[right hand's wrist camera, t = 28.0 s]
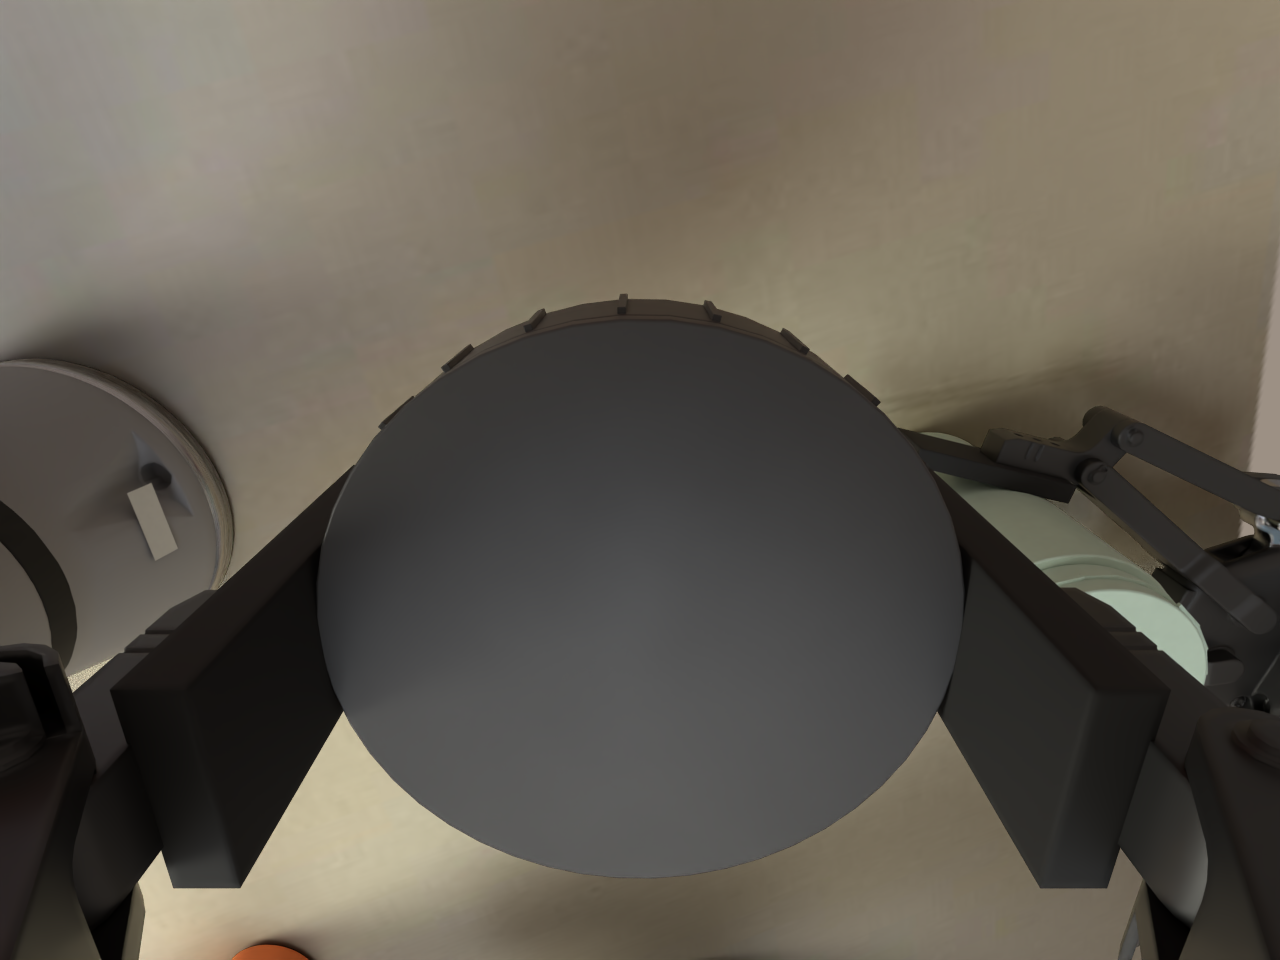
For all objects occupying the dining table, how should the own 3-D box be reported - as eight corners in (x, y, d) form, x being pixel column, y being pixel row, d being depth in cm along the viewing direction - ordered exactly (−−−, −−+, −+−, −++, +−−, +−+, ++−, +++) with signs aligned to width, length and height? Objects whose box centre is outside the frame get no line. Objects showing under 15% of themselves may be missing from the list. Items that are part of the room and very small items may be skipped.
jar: (904, 604, 39) (1052, 828, 25) (805, 509, 37) (906, 695, 23) (1028, 504, 37) (1266, 689, 23) (931, 398, 35) (1127, 529, 21)
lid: (782, 841, 14) (803, 935, 12) (315, 713, 13) (263, 796, 11) (1024, 416, 11) (1101, 458, 9) (437, 200, 10) (391, 198, 8)
